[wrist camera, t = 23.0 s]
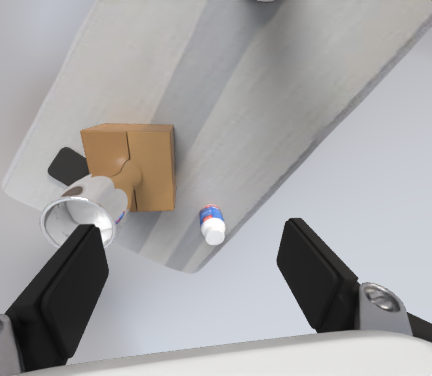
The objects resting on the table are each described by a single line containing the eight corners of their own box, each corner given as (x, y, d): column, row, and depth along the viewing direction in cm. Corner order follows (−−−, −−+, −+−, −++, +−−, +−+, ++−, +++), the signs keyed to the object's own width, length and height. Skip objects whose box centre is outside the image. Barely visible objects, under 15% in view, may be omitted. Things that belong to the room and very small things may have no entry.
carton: (173, 124, 40) (170, 132, 31) (176, 188, 46) (174, 210, 37) (104, 123, 38) (79, 130, 29) (116, 189, 44) (98, 213, 35)
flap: (169, 132, 31) (169, 132, 31) (173, 209, 37) (173, 210, 37) (127, 131, 31) (126, 131, 30) (138, 210, 36) (137, 211, 36)
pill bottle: (207, 199, 48) (212, 222, 39) (224, 209, 50) (233, 233, 41) (194, 216, 50) (197, 241, 41) (212, 225, 52) (218, 251, 43)
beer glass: (106, 196, 34) (53, 261, 20) (93, 156, 31) (22, 199, 17) (148, 191, 34) (125, 251, 21) (140, 152, 32) (107, 191, 18)
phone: (63, 144, 39) (132, 189, 44) (65, 144, 39) (133, 187, 45) (45, 173, 40) (113, 212, 46) (47, 171, 41) (114, 210, 46)
